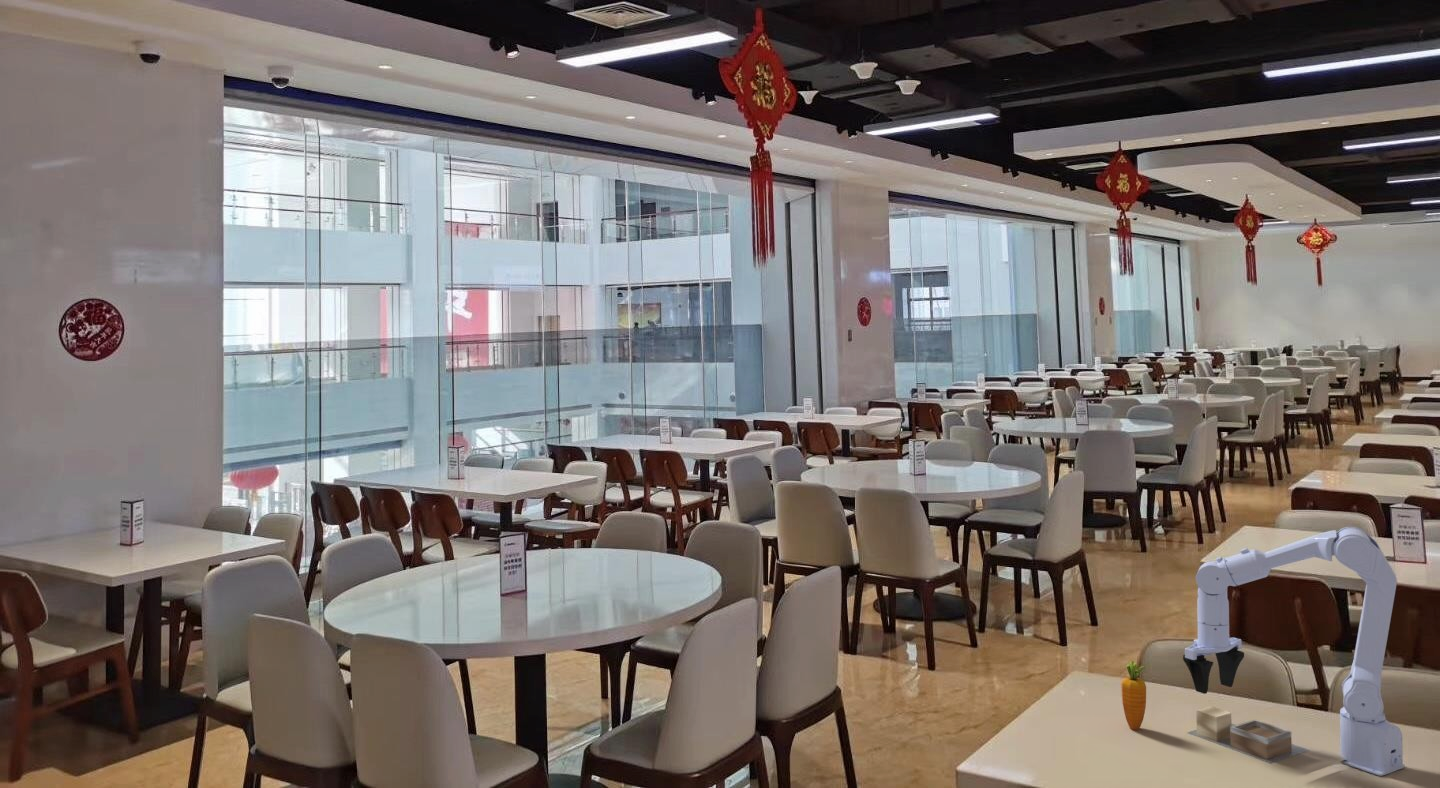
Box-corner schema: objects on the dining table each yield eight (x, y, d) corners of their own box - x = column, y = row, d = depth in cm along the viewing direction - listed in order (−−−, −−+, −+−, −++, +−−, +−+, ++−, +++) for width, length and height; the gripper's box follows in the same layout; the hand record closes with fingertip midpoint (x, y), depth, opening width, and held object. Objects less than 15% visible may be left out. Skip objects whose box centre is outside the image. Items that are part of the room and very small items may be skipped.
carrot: (1125, 727, 208) (1124, 656, 208) (1150, 732, 205) (1149, 660, 205) (1118, 734, 205) (1117, 662, 204) (1143, 739, 201) (1142, 666, 201)
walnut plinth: (1291, 751, 191) (1291, 731, 191) (1266, 760, 187) (1266, 739, 187) (1255, 739, 197) (1254, 719, 197) (1230, 746, 194) (1230, 726, 194)
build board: (1310, 755, 191) (1310, 750, 191) (1270, 768, 186) (1270, 763, 186) (1225, 726, 207) (1225, 721, 207) (1186, 737, 202) (1186, 732, 202)
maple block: (1231, 737, 199) (1231, 712, 199) (1216, 741, 197) (1216, 717, 197) (1211, 730, 203) (1211, 706, 203) (1196, 734, 201) (1196, 710, 201)
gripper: (1219, 612, 206) (1220, 677, 207) (1171, 622, 200) (1172, 689, 200) (1250, 620, 200) (1251, 686, 201) (1202, 631, 194) (1203, 699, 194)
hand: (1214, 688), depth 200 cm, fingers open, 7 cm apart
